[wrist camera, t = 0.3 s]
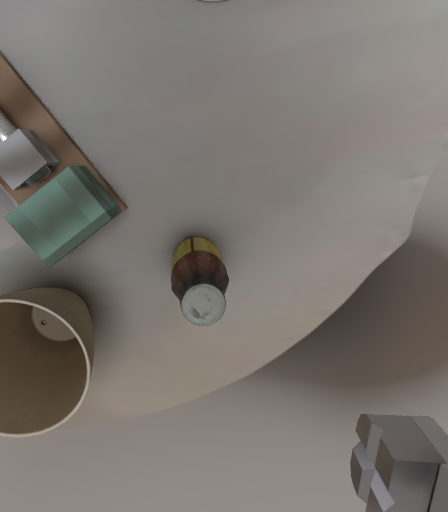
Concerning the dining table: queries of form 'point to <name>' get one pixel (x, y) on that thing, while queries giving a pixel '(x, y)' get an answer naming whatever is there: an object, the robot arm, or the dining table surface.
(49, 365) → the plant pot
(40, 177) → the upright dark gray slab
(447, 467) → the robot arm
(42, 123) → the tube housing
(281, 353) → the dining table surface
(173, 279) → the sauce bottle
